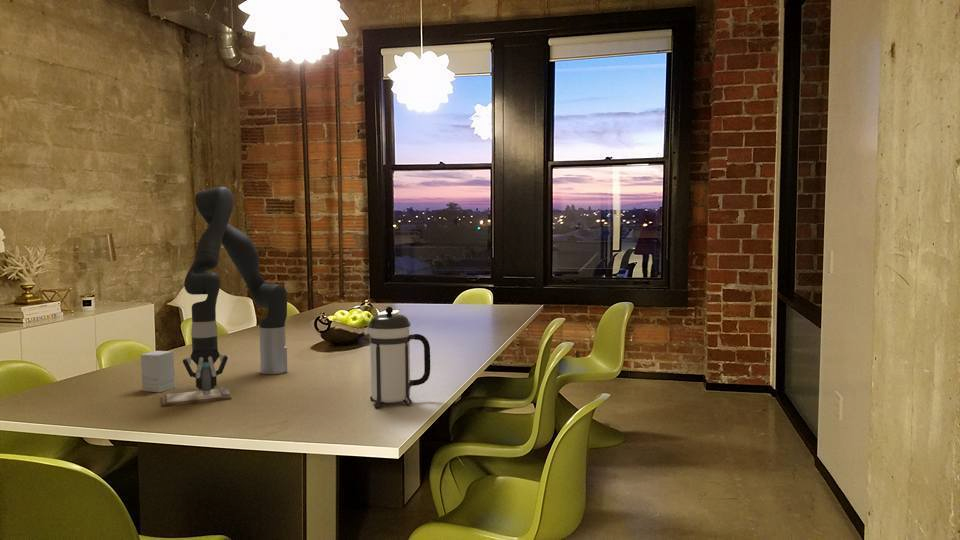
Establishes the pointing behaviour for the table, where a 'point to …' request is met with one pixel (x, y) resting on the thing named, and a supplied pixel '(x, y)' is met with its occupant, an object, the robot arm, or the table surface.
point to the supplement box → (157, 371)
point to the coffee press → (393, 358)
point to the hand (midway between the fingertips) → (206, 388)
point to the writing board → (195, 397)
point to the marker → (206, 378)
